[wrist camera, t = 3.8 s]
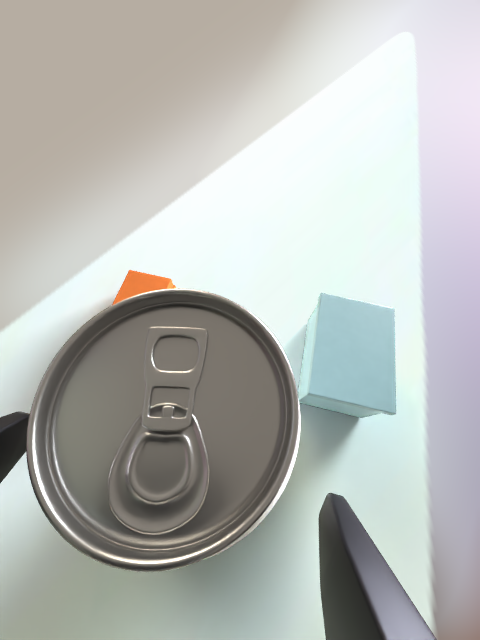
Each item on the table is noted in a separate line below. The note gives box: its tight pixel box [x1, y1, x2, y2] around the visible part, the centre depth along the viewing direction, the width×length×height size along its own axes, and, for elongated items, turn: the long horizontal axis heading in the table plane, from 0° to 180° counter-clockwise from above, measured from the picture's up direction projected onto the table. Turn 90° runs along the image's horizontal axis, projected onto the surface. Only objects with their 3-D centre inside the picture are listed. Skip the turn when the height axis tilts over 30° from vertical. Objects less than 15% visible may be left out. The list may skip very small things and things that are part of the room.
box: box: [298, 293, 396, 418], centre depth 17 cm, size 6×4×4 cm
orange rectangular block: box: [112, 270, 176, 305], centre depth 19 cm, size 6×3×2 cm, turn 167°
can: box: [26, 289, 300, 572], centre depth 11 cm, size 6×6×12 cm
